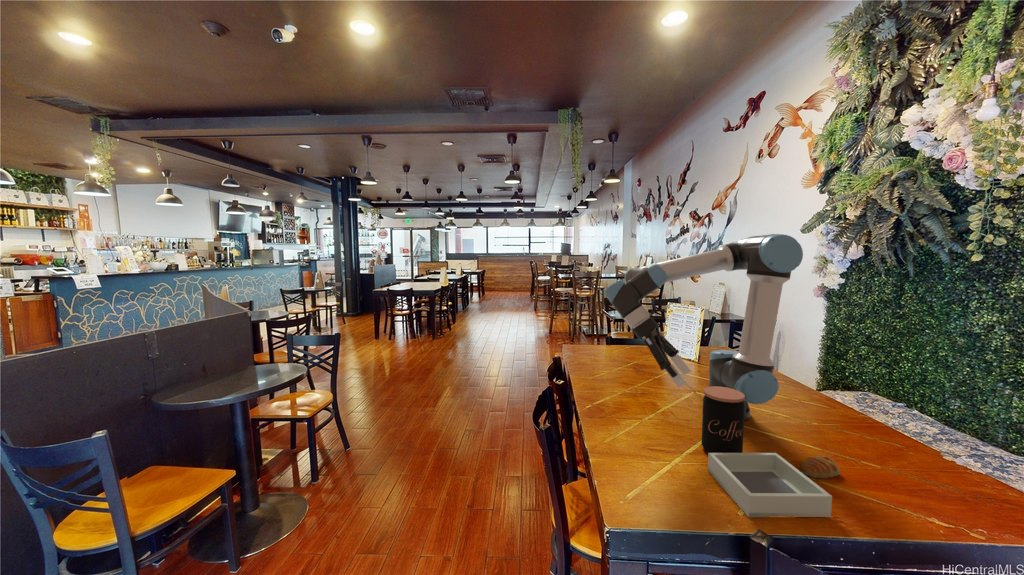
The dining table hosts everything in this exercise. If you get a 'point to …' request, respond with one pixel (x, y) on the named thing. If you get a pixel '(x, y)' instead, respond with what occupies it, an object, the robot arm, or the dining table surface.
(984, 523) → the dining table surface
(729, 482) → the tray
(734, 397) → the coffee jar
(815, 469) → the pastry
